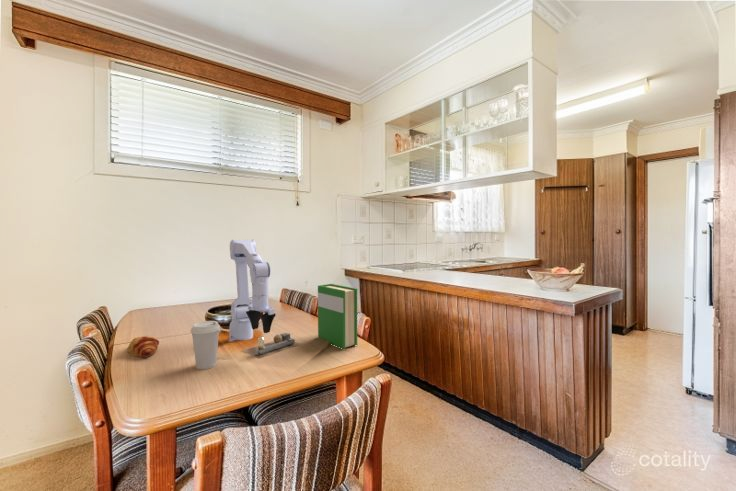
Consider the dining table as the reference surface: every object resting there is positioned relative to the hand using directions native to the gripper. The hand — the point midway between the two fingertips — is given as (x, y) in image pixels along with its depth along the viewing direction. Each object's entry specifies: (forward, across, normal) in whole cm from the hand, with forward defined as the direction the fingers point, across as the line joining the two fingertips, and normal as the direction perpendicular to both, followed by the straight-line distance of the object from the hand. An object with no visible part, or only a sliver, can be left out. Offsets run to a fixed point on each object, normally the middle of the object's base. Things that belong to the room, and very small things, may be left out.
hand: (260, 330), depth 124 cm
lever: (+9, 0, +7) cm, 11 cm away
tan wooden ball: (+9, -5, +11) cm, 15 cm away
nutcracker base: (+10, -3, +7) cm, 13 cm away
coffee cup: (+10, -8, -17) cm, 21 cm away
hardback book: (+10, +11, +30) cm, 33 cm away
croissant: (+11, -42, -26) cm, 50 cm away
